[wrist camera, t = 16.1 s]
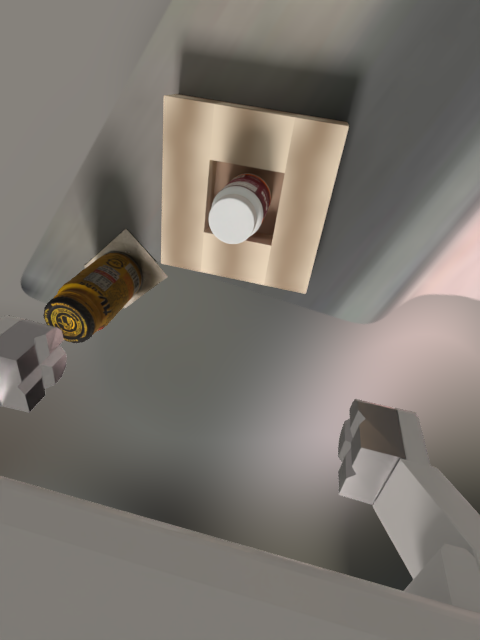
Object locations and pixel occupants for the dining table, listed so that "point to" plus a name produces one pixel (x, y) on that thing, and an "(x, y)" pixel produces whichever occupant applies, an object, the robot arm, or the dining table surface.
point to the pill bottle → (239, 208)
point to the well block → (239, 158)
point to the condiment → (103, 289)
